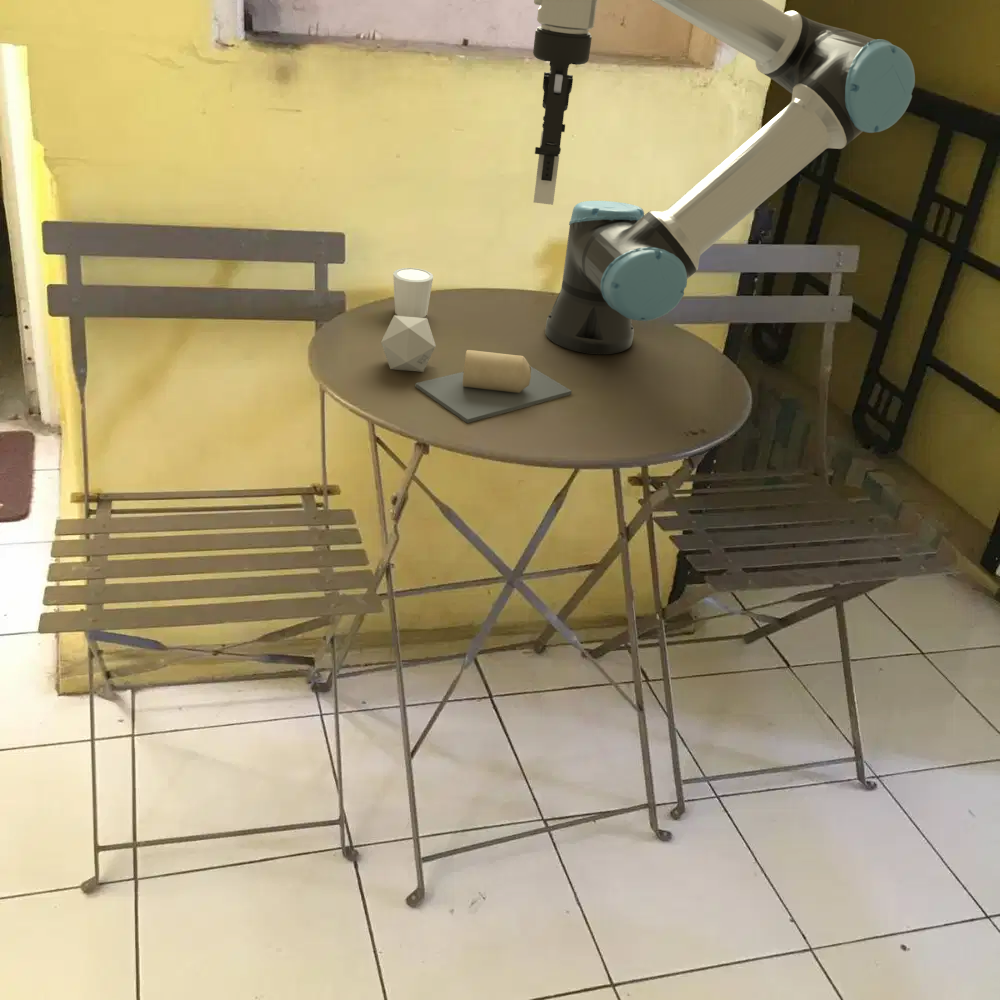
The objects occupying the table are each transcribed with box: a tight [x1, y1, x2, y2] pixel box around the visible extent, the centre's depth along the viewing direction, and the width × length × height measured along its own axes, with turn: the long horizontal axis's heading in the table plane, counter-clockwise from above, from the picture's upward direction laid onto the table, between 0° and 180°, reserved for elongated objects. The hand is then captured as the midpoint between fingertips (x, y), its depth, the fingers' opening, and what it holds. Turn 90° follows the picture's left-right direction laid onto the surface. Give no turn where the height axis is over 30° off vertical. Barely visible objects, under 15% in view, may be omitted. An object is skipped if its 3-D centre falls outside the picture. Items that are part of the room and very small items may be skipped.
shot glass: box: [392, 267, 434, 318], centre depth 175 cm, size 7×7×7 cm
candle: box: [463, 349, 532, 393], centre depth 152 cm, size 6×6×10 cm
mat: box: [415, 365, 573, 424], centre depth 154 cm, size 20×13×1 cm, turn 129°
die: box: [380, 314, 436, 373], centre depth 156 cm, size 8×9×10 cm
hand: (544, 190), depth 146 cm, fingers open, 13 cm apart
